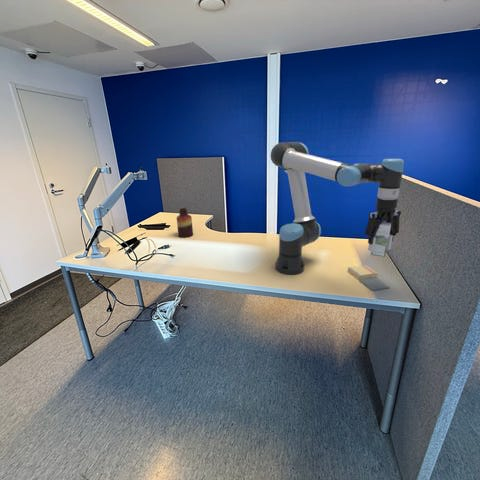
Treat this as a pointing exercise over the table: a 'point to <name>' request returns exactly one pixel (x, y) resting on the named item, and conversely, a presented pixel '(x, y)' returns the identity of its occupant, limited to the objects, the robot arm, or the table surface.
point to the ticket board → (362, 272)
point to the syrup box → (382, 239)
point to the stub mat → (374, 284)
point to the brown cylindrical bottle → (184, 224)
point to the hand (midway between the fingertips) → (379, 249)
